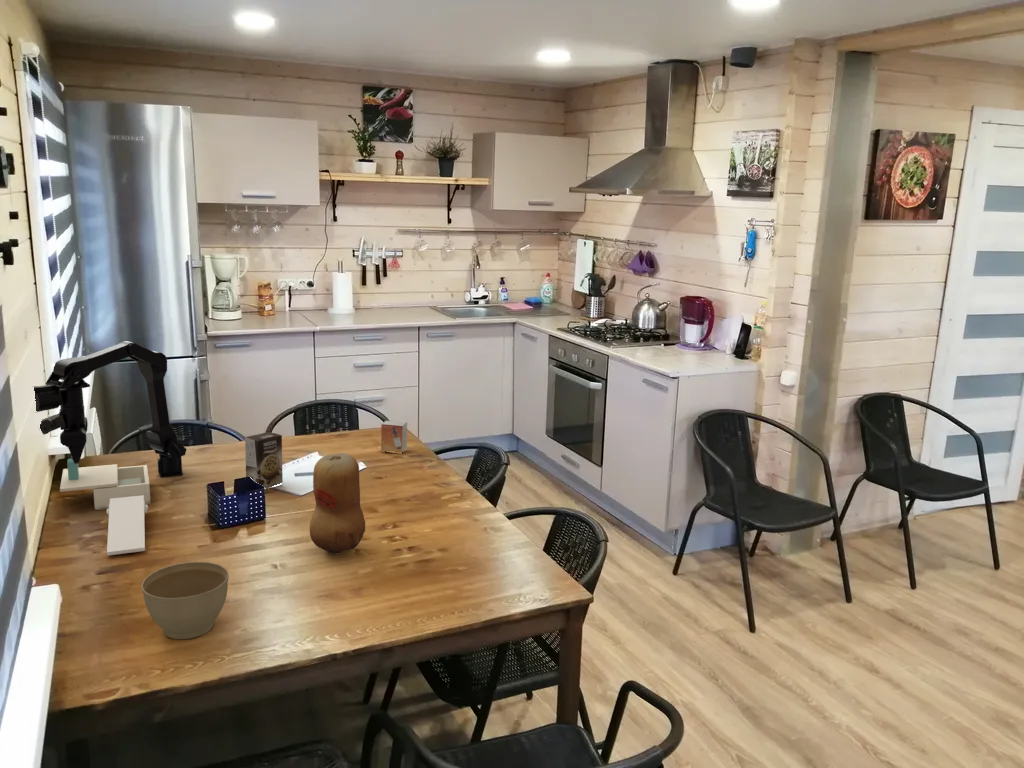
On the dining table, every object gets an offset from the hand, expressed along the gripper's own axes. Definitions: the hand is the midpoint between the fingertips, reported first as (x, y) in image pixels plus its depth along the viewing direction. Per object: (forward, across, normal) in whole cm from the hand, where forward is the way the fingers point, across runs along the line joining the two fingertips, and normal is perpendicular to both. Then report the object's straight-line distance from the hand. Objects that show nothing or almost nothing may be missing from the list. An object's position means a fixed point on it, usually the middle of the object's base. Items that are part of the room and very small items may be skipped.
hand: (77, 458), depth 226 cm
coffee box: (+13, +7, +50) cm, 52 cm away
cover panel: (+6, +2, +3) cm, 7 cm away
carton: (+12, +2, +11) cm, 16 cm away
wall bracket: (+13, +31, +11) cm, 36 cm away
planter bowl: (+12, +87, +21) cm, 90 cm away
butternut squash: (+13, +61, +58) cm, 85 cm away
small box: (+14, -15, +98) cm, 100 cm away
